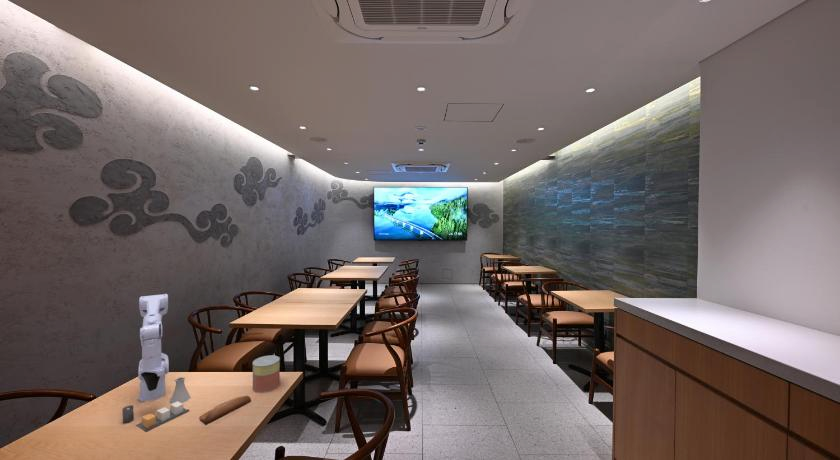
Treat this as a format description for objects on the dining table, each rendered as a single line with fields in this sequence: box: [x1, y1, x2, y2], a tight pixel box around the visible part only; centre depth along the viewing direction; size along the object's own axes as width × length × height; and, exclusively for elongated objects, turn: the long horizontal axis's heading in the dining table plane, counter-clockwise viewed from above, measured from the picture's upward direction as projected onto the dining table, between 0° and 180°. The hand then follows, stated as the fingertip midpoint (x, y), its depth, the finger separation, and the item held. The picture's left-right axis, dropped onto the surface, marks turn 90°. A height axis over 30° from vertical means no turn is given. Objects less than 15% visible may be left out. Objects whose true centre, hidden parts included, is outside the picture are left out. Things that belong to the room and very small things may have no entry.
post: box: [121, 404, 135, 424], centre depth 119 cm, size 4×4×6 cm
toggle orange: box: [141, 413, 157, 428], centre depth 117 cm, size 4×2×3 cm, turn 63°
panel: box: [135, 407, 190, 433], centre depth 121 cm, size 8×14×2 cm, turn 153°
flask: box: [169, 376, 191, 404], centre depth 133 cm, size 7×7×10 cm
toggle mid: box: [156, 406, 170, 421], centre depth 121 cm, size 4×2×3 cm, turn 63°
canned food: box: [252, 354, 281, 394], centre depth 146 cm, size 11×11×12 cm
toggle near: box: [169, 401, 184, 415], centre depth 125 cm, size 4×2×3 cm, turn 63°
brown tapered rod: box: [198, 395, 252, 426], centre depth 126 cm, size 18×7×7 cm
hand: (152, 389), depth 124 cm, fingers closed
